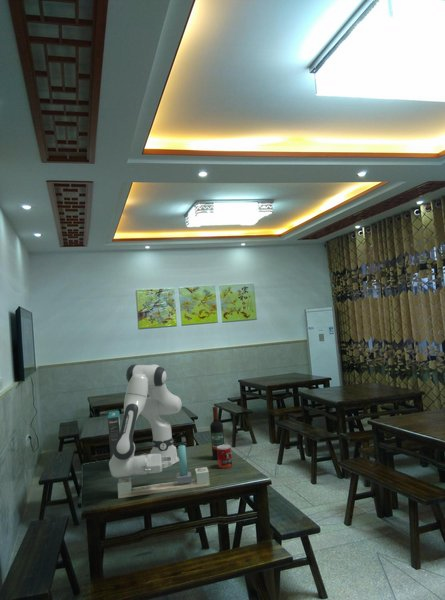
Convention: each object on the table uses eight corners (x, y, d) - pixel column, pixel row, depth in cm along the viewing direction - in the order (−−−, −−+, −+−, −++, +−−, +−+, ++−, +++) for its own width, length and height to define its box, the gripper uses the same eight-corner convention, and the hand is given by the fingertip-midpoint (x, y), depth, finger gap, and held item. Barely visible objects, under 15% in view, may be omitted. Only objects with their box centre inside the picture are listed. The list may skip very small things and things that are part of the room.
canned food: (222, 469, 244) (220, 449, 245) (216, 466, 251) (214, 446, 252) (234, 466, 248) (233, 446, 248) (228, 463, 255) (226, 443, 255)
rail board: (119, 492, 223) (118, 477, 223) (207, 480, 230) (206, 465, 230) (118, 498, 215) (117, 483, 216) (209, 485, 222) (208, 470, 222)
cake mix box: (122, 469, 261) (118, 416, 263) (111, 470, 260) (107, 418, 262) (122, 459, 283) (119, 410, 285) (112, 460, 282) (109, 411, 283)
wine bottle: (227, 456, 268) (223, 405, 270) (223, 460, 261) (218, 408, 263) (215, 456, 271) (211, 405, 273) (210, 460, 264) (206, 408, 266)
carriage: (177, 479, 227) (174, 445, 228) (190, 477, 228) (188, 443, 229) (177, 484, 220) (175, 448, 221) (192, 482, 221) (189, 447, 222)
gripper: (141, 464, 212) (171, 460, 214) (142, 452, 232) (169, 449, 234) (142, 478, 211) (172, 474, 214) (143, 465, 232) (170, 461, 234)
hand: (171, 461), depth 224 cm, fingers open, 8 cm apart
